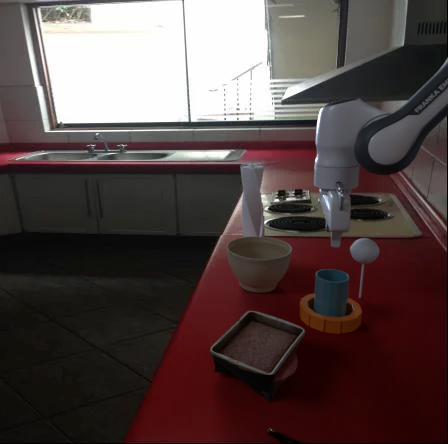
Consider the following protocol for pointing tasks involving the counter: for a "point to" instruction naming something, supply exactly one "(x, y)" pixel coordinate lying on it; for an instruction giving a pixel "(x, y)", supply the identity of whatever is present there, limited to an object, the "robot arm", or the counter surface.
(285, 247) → the planter bowl
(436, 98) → the robot arm
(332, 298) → the cup
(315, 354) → the counter surface
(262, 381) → the baking dish
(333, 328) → the ring
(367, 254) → the lollipop
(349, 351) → the counter surface
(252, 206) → the skyscraper
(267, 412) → the counter surface
